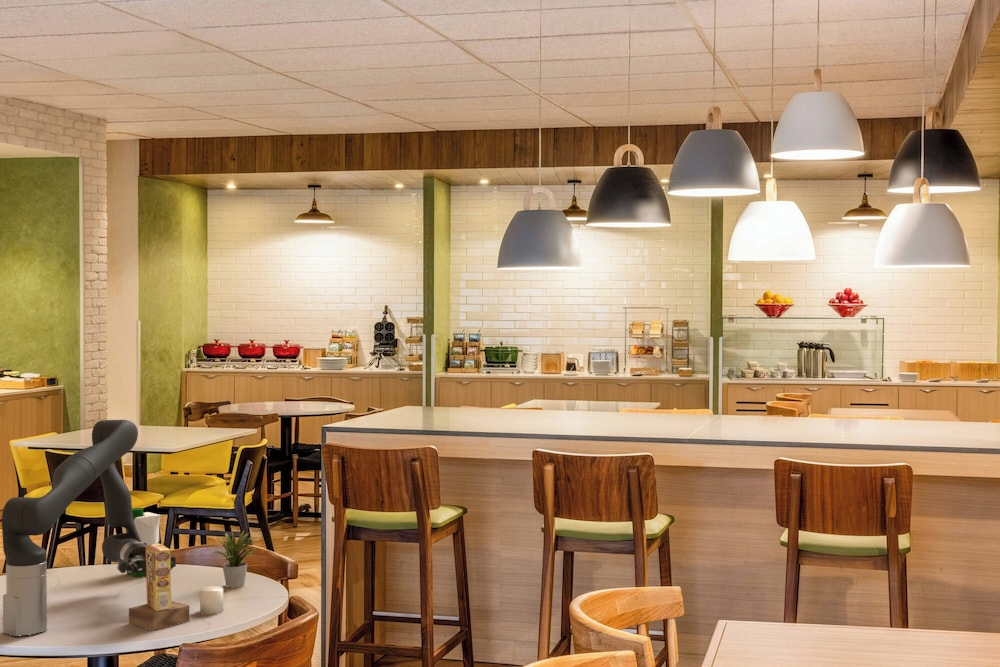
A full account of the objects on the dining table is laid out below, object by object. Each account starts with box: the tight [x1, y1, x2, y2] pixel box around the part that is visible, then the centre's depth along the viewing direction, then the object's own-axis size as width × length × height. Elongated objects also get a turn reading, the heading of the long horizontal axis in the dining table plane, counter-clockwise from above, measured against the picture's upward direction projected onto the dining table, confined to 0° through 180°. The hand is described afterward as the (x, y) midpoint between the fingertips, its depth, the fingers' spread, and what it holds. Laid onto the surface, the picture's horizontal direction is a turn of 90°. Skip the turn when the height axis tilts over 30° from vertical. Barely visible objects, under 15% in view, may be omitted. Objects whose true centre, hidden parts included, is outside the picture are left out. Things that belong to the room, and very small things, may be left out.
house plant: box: [212, 529, 262, 588], centre depth 326 cm, size 14×14×16 cm
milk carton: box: [126, 507, 162, 578], centre depth 342 cm, size 9×9×20 cm
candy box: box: [145, 543, 172, 611], centre depth 288 cm, size 9×4×15 cm, turn 33°
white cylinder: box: [199, 585, 224, 615], centre depth 299 cm, size 6×6×6 cm
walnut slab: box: [128, 600, 190, 631], centre depth 288 cm, size 11×10×4 cm
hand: (153, 568), depth 292 cm, fingers open, 8 cm apart
